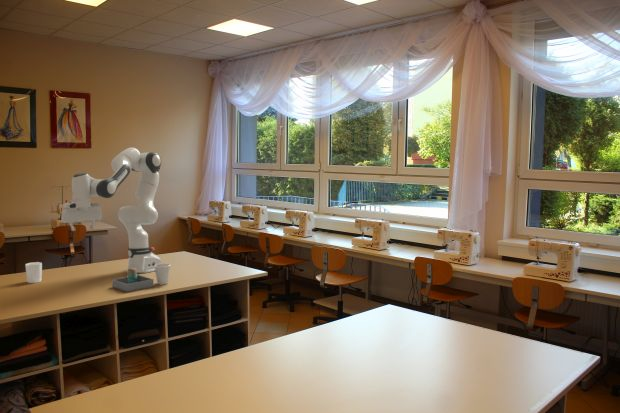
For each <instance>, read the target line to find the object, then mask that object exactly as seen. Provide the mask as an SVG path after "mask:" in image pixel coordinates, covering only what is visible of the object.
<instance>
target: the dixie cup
mask: <svg viewBox="0 0 620 413" xmlns="http://www.w3.org/2000/svg"><path fill="white" fill-rule="evenodd" d="M154 267H155V277H156V283H157V285H167V284H169V278H170V269H171V264H170V263H162V264H156V265H154Z"/></svg>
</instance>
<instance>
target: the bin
mask: <svg viewBox="0 0 620 413" xmlns="http://www.w3.org/2000/svg"><path fill="white" fill-rule="evenodd" d="M111 282H112V287H111V288H114V289H117V290H119V291H122V292H125V293H130V292H135V291H140V290H145V289H149V288H150V289H151V288H154V279H153V278H150V277H147V276H144V275H140V274H137V282H136V283H130V284H128V276H126V277H121V278H115V279H114V278H113V279H112V280H111Z"/></svg>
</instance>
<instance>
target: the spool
mask: <svg viewBox="0 0 620 413" xmlns="http://www.w3.org/2000/svg"><path fill="white" fill-rule="evenodd" d="M137 275H138V273H137V269H136V268H130V269H128V272H127V277H128V284H130V283H136V282H137Z"/></svg>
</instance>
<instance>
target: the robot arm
mask: <svg viewBox="0 0 620 413" xmlns="http://www.w3.org/2000/svg"><path fill="white" fill-rule="evenodd" d="M110 166H111V169H112V171H113V172H114V173H113V174H112V176H111V177H108V178H103V179H99V178H95V177H92V176H91V175H89V173H88V172H82V173H76V174H74V175H73V176H72V178H71V192H72V197H71V200H70V201H68V202H65V203H63V204H62V208H63V209H61V213H60V214H61V218H60V220H61V222H62V223H65V224H67V223H68V225H69V226H70V228H71V232H74V231H75V232H76V227H75V226H74V223H80V222H81V223H82V222H91V225H89V230H93V229H94V226H95V224H96V221H101V220H102V218H103V213H102V205H101V203H99V202H95V203H94V202H93V203H92V202H91V201H92V200H91V197H94V198H95V197H96V198H104V199H110V198H112V197H113V196H114V195H115V194H116V192H117V190H118V189H119V187H120V185H121V184H122V183H123V182H124V181H125V180H126V179H127V178H128V176H129V175H130V173H131V171H133V172H137V173H139V172H141V177H140V180H139V182H138V185H137V188H136V190H135V193H134V196H135V199H137V200H138V205H125V206H121V207H120V208H119V210H118V211H117V218H118V220H119V221H120V222H121V223H122V224H123V226H124V227H125V230H126V232H127V235H128V251H127V253H128V263H127V264H128V265H127V269H126V272H127V273H128V269H130V268H136V269H137V274H138V273H143V274H144V273H145V274H146V273H152V272H154V271H155V267H154V265H156V264H163V263H162V260H161V258H160V257H159V256H158V255H157V254H155V253H154V252H152V251H155V247H153V246H152V247H151V246H149V233H147V232H148V231H146V230H144V228H143V226H142V225H145V226H148V225H154V224H155V223H156V222H157V221H158V218H159V213H158V210H157V208H155V204H154V203H155V202H154V201H155V197H156V193H157V190H158V188H159V182H160V174H159V171H160V169H161V166H162V157H161V156H160V154H159V153H157V152H140V150H138V148H135V147H128V148H126V149H124V150H121V152H119V153H118V154H117V155H116V156H114V157H113V159H112V160H111V162H110Z"/></svg>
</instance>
